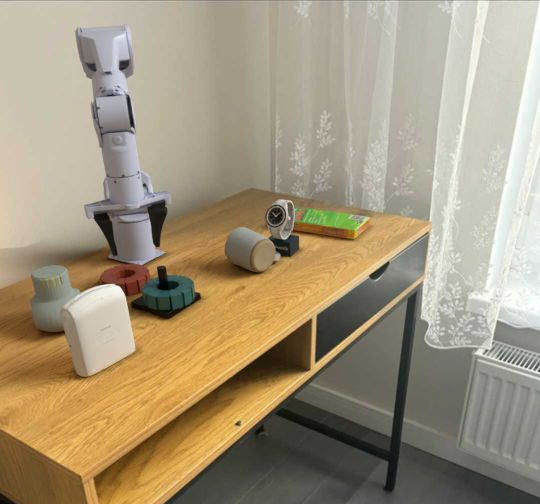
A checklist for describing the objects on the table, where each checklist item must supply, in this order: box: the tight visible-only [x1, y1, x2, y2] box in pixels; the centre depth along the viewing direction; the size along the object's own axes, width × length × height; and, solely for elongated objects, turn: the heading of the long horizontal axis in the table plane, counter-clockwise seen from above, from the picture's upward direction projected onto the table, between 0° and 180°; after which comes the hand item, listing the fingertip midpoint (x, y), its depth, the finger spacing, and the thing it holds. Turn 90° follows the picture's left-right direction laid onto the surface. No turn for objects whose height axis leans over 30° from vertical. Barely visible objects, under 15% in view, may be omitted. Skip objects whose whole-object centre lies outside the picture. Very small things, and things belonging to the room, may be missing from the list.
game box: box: [292, 206, 371, 240], centre depth 142 cm, size 3×10×20 cm
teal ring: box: [141, 274, 196, 310], centre depth 110 cm, size 9×9×3 cm
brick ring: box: [99, 263, 152, 297], centre depth 118 cm, size 9×9×3 cm
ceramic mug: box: [224, 226, 281, 273], centre depth 123 cm, size 11×8×8 cm
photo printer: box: [60, 284, 136, 378], centre depth 92 cm, size 10×4×12 cm, turn 140°
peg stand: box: [130, 265, 202, 320], centre depth 110 cm, size 9×9×7 cm
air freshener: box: [29, 264, 81, 333], centre depth 104 cm, size 11×8×10 cm
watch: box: [264, 198, 300, 257], centre depth 128 cm, size 6×8×11 cm
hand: (135, 249), depth 109 cm, fingers open, 7 cm apart
